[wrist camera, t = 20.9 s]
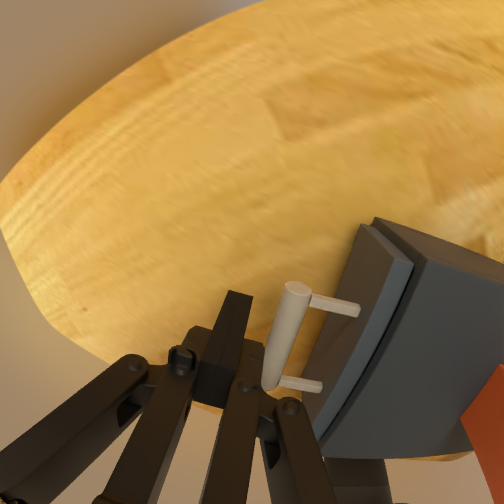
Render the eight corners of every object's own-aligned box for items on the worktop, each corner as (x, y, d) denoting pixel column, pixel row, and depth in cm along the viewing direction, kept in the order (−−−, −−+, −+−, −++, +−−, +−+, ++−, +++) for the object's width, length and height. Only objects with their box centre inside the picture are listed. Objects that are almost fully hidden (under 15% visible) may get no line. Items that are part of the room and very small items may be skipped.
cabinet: (311, 376, 25) (315, 456, 16) (374, 216, 20) (428, 259, 11) (450, 391, 24) (478, 449, 16) (517, 269, 19) (573, 312, 11)
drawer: (251, 365, 24) (239, 428, 17) (298, 205, 19) (304, 232, 13) (440, 392, 23) (463, 441, 17) (507, 273, 18) (553, 309, 12)
